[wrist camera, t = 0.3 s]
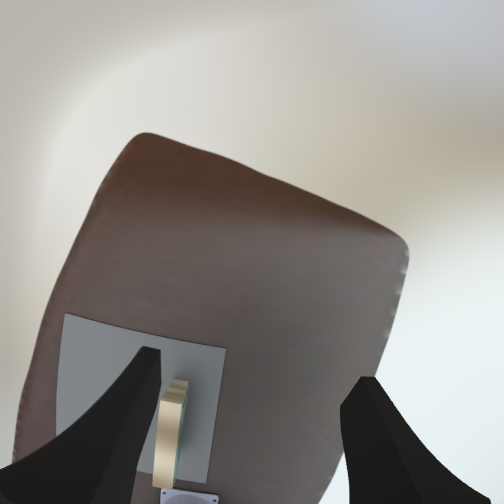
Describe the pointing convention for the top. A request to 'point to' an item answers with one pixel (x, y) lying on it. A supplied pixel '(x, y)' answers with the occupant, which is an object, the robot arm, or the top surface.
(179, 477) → the slate mat
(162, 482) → the teal framed tile
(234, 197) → the top surface
